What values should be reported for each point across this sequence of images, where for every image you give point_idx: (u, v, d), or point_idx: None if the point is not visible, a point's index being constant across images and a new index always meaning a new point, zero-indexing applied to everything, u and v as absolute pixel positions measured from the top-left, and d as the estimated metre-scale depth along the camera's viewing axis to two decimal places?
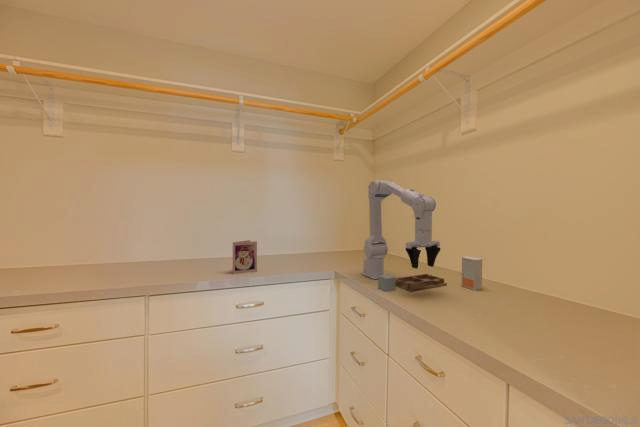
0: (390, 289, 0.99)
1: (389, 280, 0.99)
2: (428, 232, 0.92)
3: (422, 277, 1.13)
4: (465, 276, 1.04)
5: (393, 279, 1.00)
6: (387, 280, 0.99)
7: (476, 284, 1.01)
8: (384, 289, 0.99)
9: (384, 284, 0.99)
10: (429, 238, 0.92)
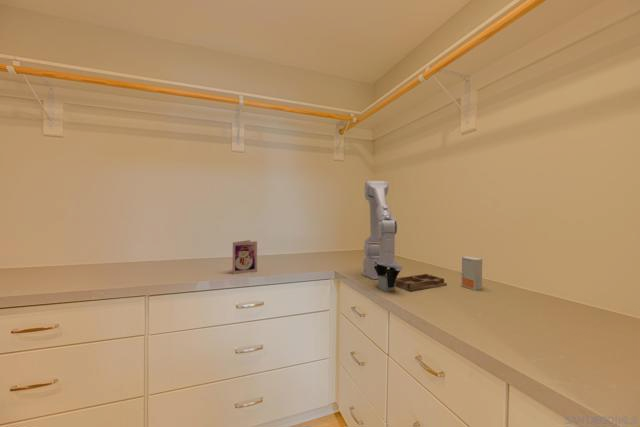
0: (390, 289, 0.99)
1: None
2: (380, 252, 1.00)
3: (422, 277, 1.13)
4: (465, 276, 1.04)
5: None
6: (387, 280, 0.99)
7: (476, 284, 1.01)
8: (384, 289, 0.99)
9: (384, 284, 0.99)
10: (381, 258, 1.00)
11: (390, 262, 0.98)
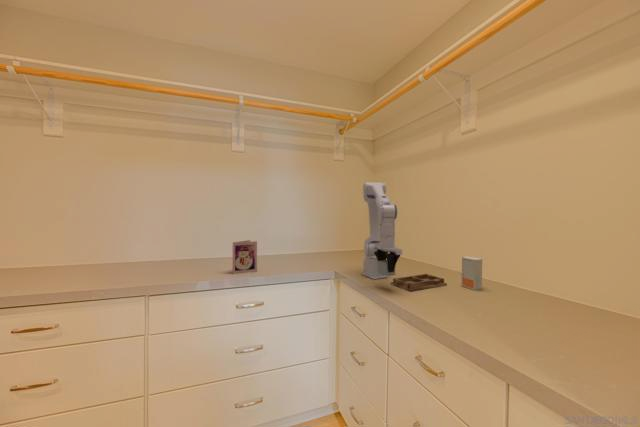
0: (390, 273, 0.99)
1: None
2: (380, 237, 1.00)
3: (422, 277, 1.13)
4: (465, 276, 1.04)
5: None
6: (387, 264, 0.98)
7: (476, 284, 1.01)
8: (384, 273, 0.99)
9: (384, 268, 0.99)
10: (381, 243, 1.00)
11: (390, 247, 0.98)
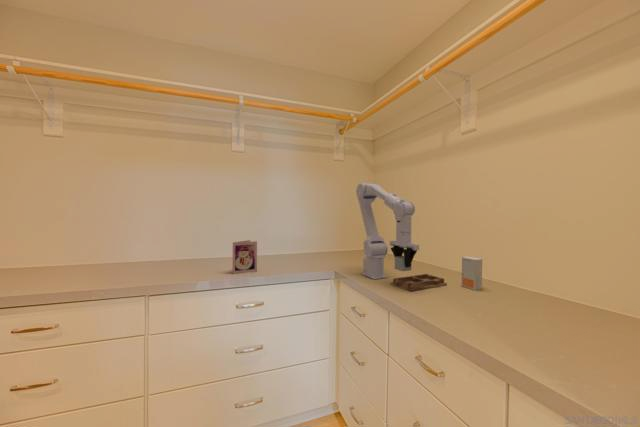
0: (407, 269, 1.02)
1: None
2: (397, 233, 1.03)
3: (422, 277, 1.13)
4: (465, 276, 1.04)
5: None
6: (404, 260, 1.02)
7: (476, 284, 1.01)
8: (401, 269, 1.02)
9: (401, 264, 1.02)
10: (398, 239, 1.03)
11: (407, 243, 1.01)
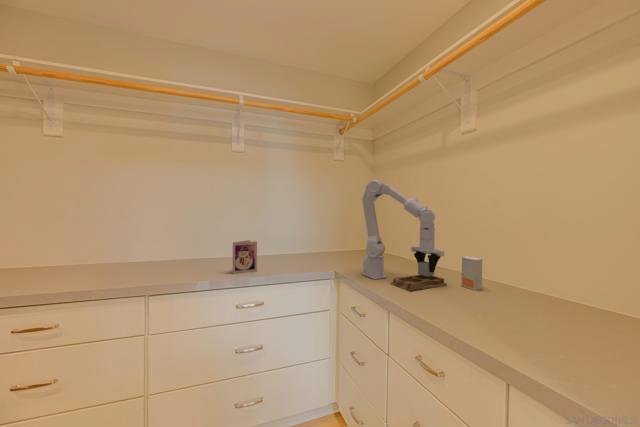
0: (430, 274, 1.07)
1: None
2: (421, 240, 1.08)
3: (422, 277, 1.13)
4: (465, 276, 1.04)
5: None
6: (428, 265, 1.06)
7: (476, 284, 1.01)
8: (425, 274, 1.07)
9: (425, 269, 1.07)
10: (422, 245, 1.08)
11: (431, 249, 1.06)
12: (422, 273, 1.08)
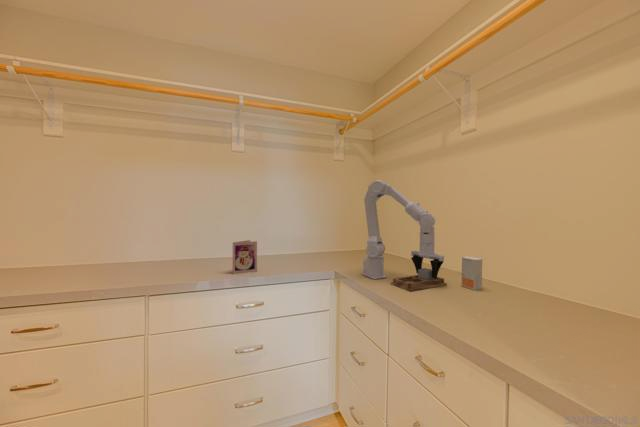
0: None
1: (429, 273, 1.07)
2: (421, 245, 1.08)
3: None
4: (465, 276, 1.04)
5: None
6: (428, 273, 1.06)
7: (476, 284, 1.01)
8: None
9: (425, 276, 1.07)
10: (422, 250, 1.08)
11: (431, 253, 1.07)
12: None
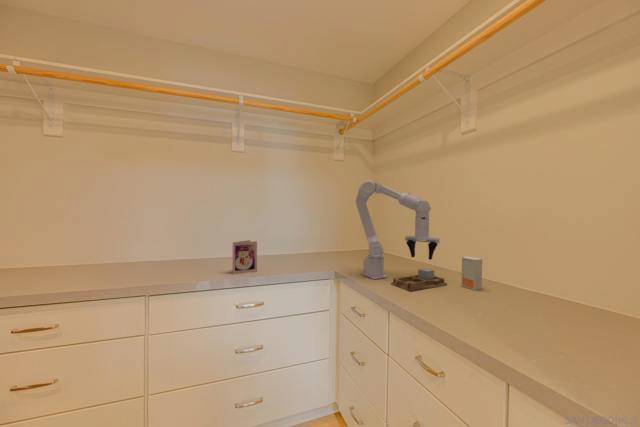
0: None
1: (429, 273, 1.07)
2: (418, 229, 1.14)
3: None
4: (465, 276, 1.04)
5: (432, 272, 1.08)
6: (428, 273, 1.06)
7: (476, 284, 1.01)
8: None
9: (425, 276, 1.07)
10: (419, 234, 1.14)
11: (427, 237, 1.14)
12: None
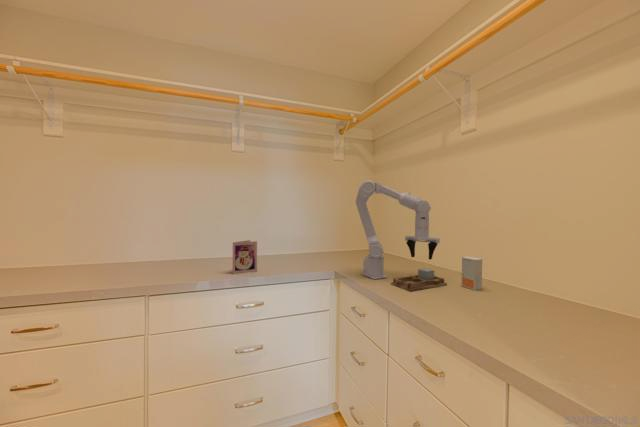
0: None
1: (429, 273, 1.07)
2: (418, 229, 1.14)
3: None
4: (465, 276, 1.04)
5: (432, 272, 1.08)
6: (428, 273, 1.06)
7: (476, 284, 1.01)
8: None
9: (425, 276, 1.07)
10: (419, 234, 1.14)
11: (427, 237, 1.14)
12: None
